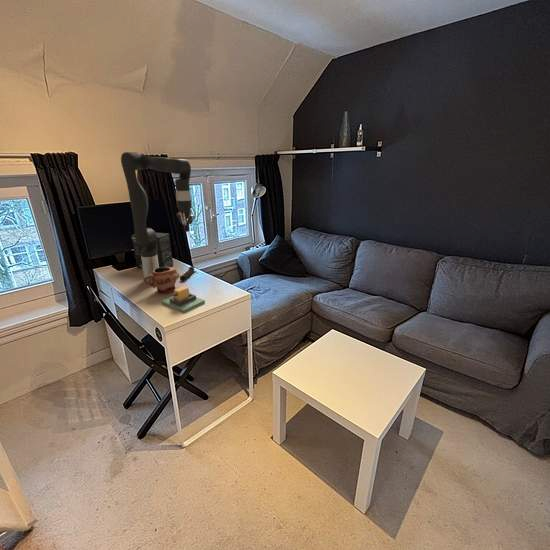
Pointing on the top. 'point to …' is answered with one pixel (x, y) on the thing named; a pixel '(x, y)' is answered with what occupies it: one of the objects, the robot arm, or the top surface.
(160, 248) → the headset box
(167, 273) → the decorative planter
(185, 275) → the hand tool
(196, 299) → the board
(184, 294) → the keyed plug
